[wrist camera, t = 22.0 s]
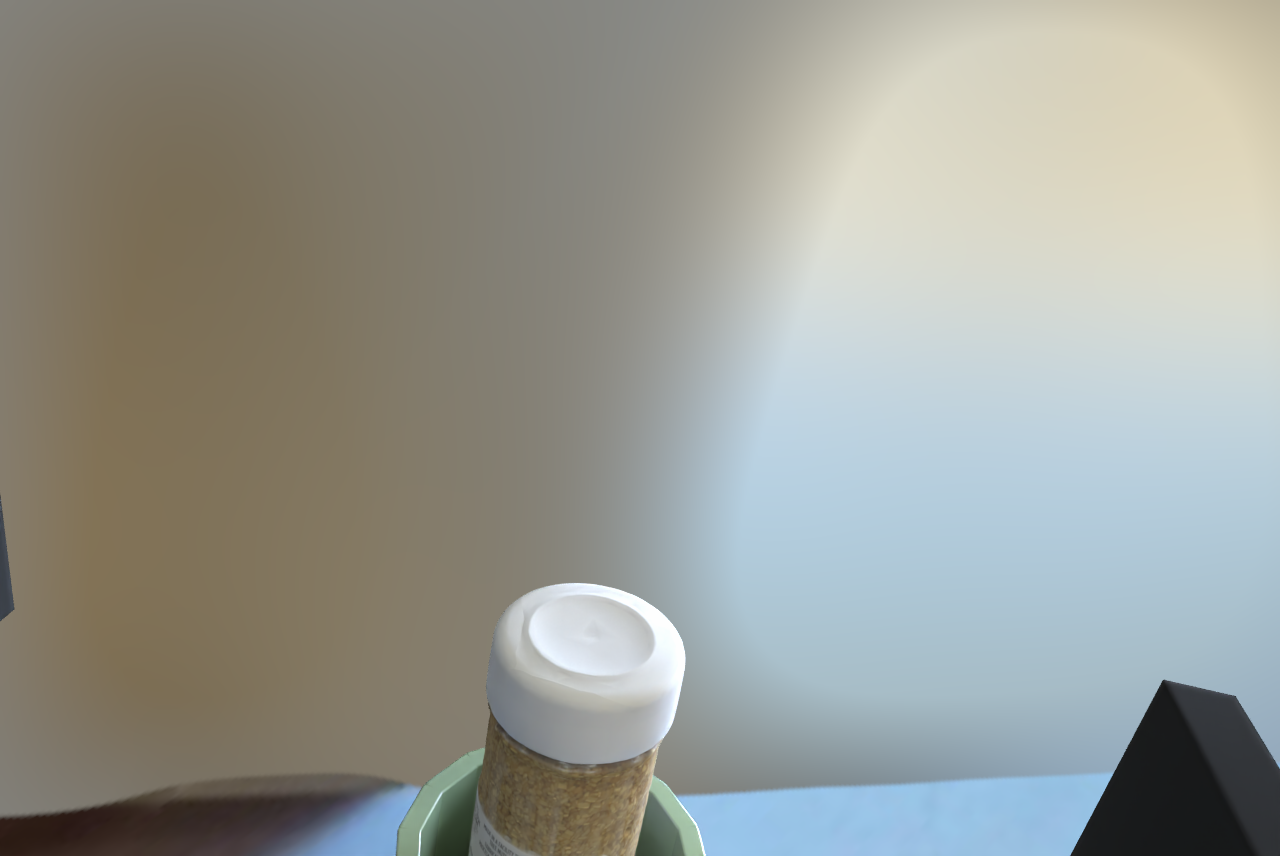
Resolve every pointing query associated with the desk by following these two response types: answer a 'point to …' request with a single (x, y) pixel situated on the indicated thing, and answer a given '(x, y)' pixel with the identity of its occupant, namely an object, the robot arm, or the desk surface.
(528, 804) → the sprinkles bottle
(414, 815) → the holder
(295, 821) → the desk surface
